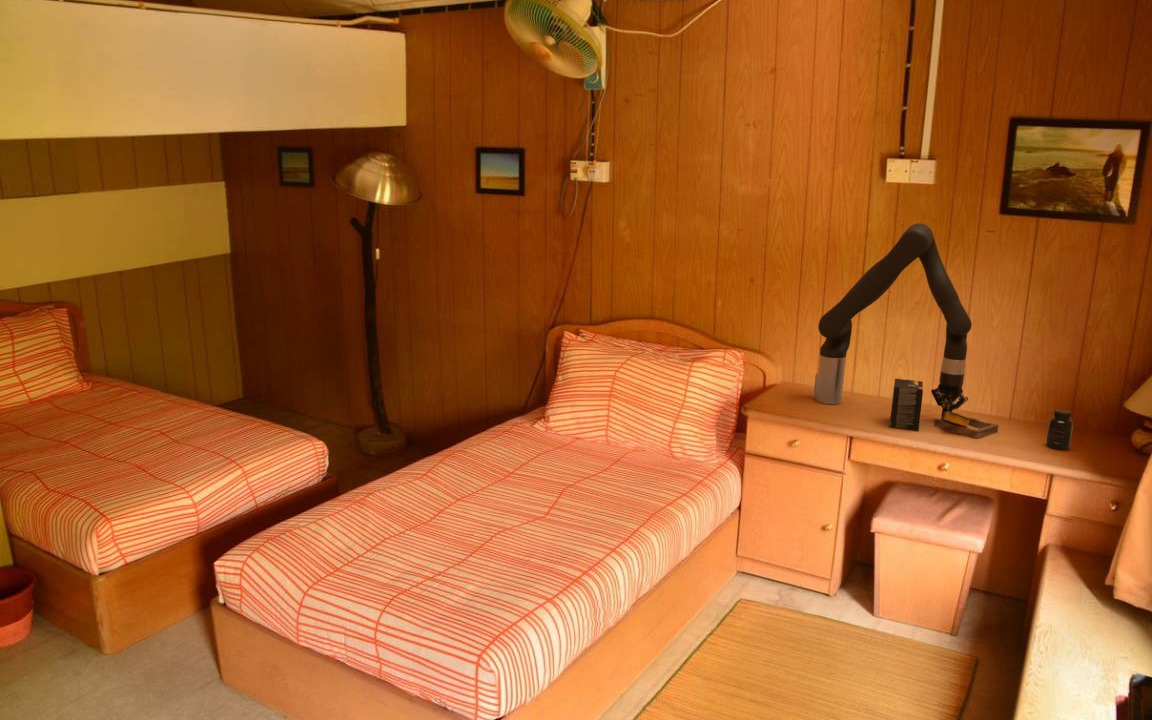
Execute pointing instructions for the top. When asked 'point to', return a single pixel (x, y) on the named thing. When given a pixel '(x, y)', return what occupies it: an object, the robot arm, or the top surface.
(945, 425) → the bay
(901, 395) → the tampon box
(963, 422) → the crayon box
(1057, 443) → the supplement bottle
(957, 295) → the robot arm
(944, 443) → the top surface
